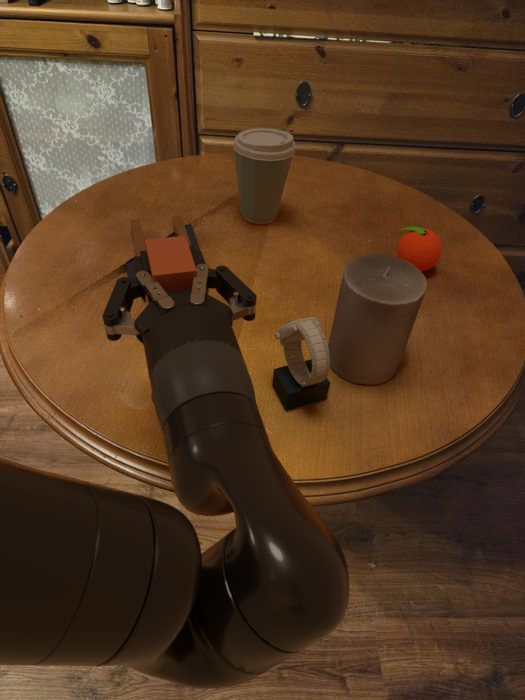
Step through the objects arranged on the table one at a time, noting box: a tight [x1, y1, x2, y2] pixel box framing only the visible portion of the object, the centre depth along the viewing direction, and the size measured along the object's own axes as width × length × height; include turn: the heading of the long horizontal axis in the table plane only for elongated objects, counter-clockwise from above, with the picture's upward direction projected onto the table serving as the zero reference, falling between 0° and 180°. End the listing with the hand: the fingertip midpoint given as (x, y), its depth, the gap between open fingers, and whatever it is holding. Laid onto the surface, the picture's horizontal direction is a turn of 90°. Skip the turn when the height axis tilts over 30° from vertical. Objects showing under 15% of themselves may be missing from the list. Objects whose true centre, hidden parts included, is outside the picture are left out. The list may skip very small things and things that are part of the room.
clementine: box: [396, 226, 443, 272], centre depth 80 cm, size 8×7×7 cm
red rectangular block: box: [144, 236, 197, 292], centre depth 50 cm, size 6×4×10 cm, turn 16°
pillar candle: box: [327, 253, 428, 386], centre depth 61 cm, size 10×10×15 cm
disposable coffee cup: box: [232, 127, 296, 225], centre depth 87 cm, size 11×11×15 cm
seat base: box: [125, 214, 202, 279], centre depth 79 cm, size 16×12×4 cm
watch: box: [271, 316, 331, 412], centre depth 58 cm, size 6×8×11 cm
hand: (166, 256), depth 50 cm, fingers closed on red rectangular block, 4 cm apart
